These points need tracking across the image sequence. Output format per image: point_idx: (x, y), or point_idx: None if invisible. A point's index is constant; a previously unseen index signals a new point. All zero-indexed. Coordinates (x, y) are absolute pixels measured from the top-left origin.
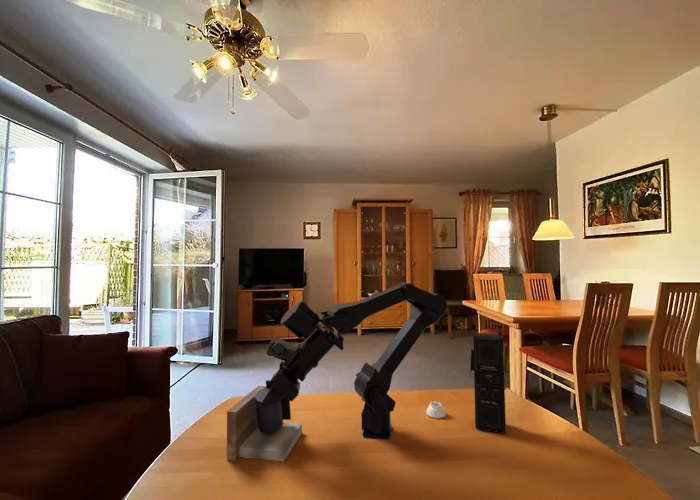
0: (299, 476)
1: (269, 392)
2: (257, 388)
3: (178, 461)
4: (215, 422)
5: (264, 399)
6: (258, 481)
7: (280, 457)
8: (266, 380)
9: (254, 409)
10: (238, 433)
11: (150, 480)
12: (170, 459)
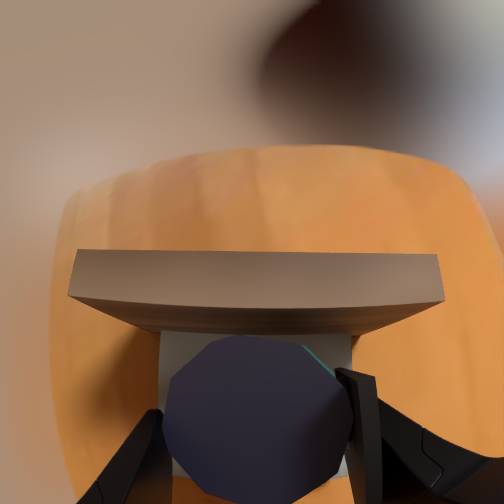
0: None
1: (90, 492)
2: (405, 266)
3: (149, 194)
4: (340, 176)
5: (125, 443)
6: (86, 417)
7: None
8: (374, 380)
9: (281, 322)
10: (137, 321)
11: (94, 189)
12: (157, 175)
